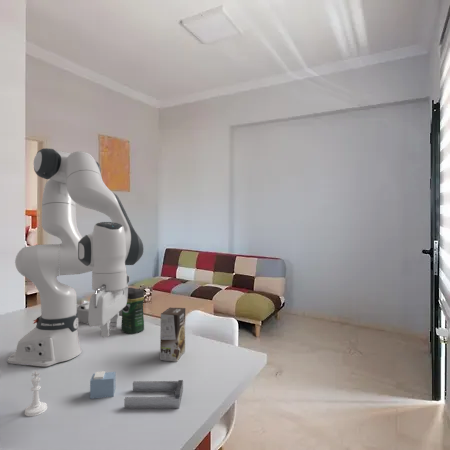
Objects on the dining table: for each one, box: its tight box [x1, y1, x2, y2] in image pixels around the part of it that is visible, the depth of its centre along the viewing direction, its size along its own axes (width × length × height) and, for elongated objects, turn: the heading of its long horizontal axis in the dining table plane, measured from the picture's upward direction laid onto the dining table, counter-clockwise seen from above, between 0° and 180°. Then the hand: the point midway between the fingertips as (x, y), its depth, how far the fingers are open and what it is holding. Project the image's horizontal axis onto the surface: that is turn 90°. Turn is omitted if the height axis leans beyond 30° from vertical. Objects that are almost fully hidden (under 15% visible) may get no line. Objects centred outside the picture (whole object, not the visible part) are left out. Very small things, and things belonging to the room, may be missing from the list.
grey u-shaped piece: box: [123, 379, 184, 410], centre depth 86 cm, size 14×9×3 cm, turn 91°
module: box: [89, 370, 117, 399], centre depth 88 cm, size 6×4×6 cm, turn 101°
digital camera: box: [77, 301, 90, 325], centre depth 150 cm, size 17×14×10 cm
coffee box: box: [159, 307, 187, 363], centre depth 113 cm, size 9×6×16 cm
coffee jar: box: [120, 287, 145, 335], centre depth 137 cm, size 10×8×19 cm
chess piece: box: [24, 370, 48, 417], centre depth 80 cm, size 5×5×10 cm
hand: (109, 332), depth 87 cm, fingers open, 5 cm apart
